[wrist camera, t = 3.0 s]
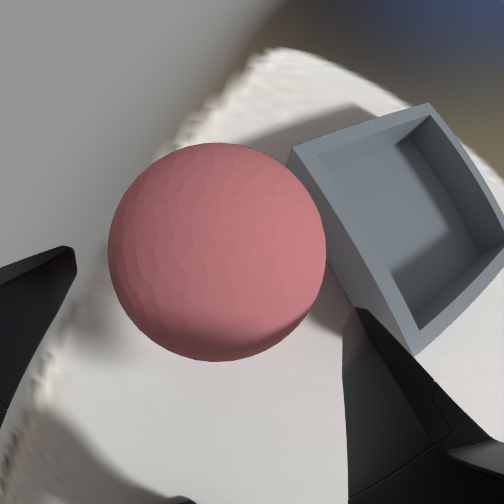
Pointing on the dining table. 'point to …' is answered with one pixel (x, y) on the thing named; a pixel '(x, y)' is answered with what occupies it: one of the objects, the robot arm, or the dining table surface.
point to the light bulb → (216, 252)
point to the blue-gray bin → (404, 220)
